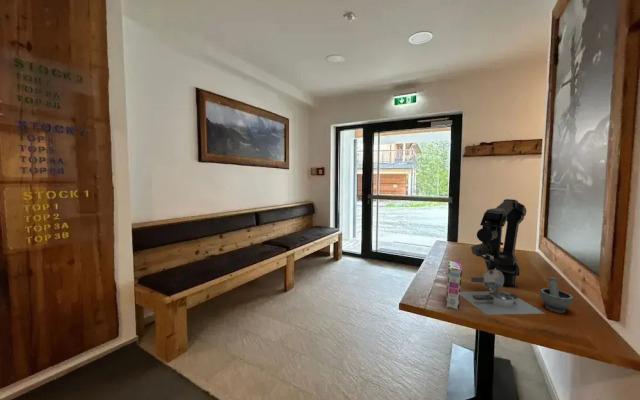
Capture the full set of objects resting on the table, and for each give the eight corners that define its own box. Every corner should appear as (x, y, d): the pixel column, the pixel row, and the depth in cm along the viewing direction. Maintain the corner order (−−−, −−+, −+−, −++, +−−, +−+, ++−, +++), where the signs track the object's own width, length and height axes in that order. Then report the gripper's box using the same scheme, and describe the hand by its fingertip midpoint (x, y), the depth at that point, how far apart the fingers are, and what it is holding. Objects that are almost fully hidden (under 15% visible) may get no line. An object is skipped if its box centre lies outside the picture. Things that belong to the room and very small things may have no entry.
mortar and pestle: (575, 318, 100) (578, 287, 99) (544, 312, 104) (546, 283, 103) (563, 305, 110) (566, 277, 109) (535, 300, 114) (537, 273, 113)
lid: (504, 290, 115) (501, 289, 116) (504, 269, 115) (501, 268, 116) (472, 290, 114) (470, 289, 116) (472, 269, 114) (470, 268, 116)
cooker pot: (506, 297, 116) (506, 290, 116) (523, 307, 107) (524, 300, 107) (466, 297, 115) (467, 290, 115) (480, 308, 106) (481, 300, 106)
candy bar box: (459, 310, 104) (462, 270, 103) (445, 307, 107) (448, 268, 105) (458, 299, 115) (461, 262, 113) (445, 296, 117) (448, 260, 115)
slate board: (506, 292, 122) (506, 291, 122) (545, 314, 103) (545, 313, 103) (456, 292, 121) (456, 291, 121) (486, 315, 101) (486, 314, 101)
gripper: (462, 233, 124) (460, 266, 126) (489, 244, 106) (486, 282, 107) (485, 234, 125) (482, 266, 126) (516, 244, 106) (512, 282, 108)
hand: (489, 273), depth 117 cm, fingers closed
